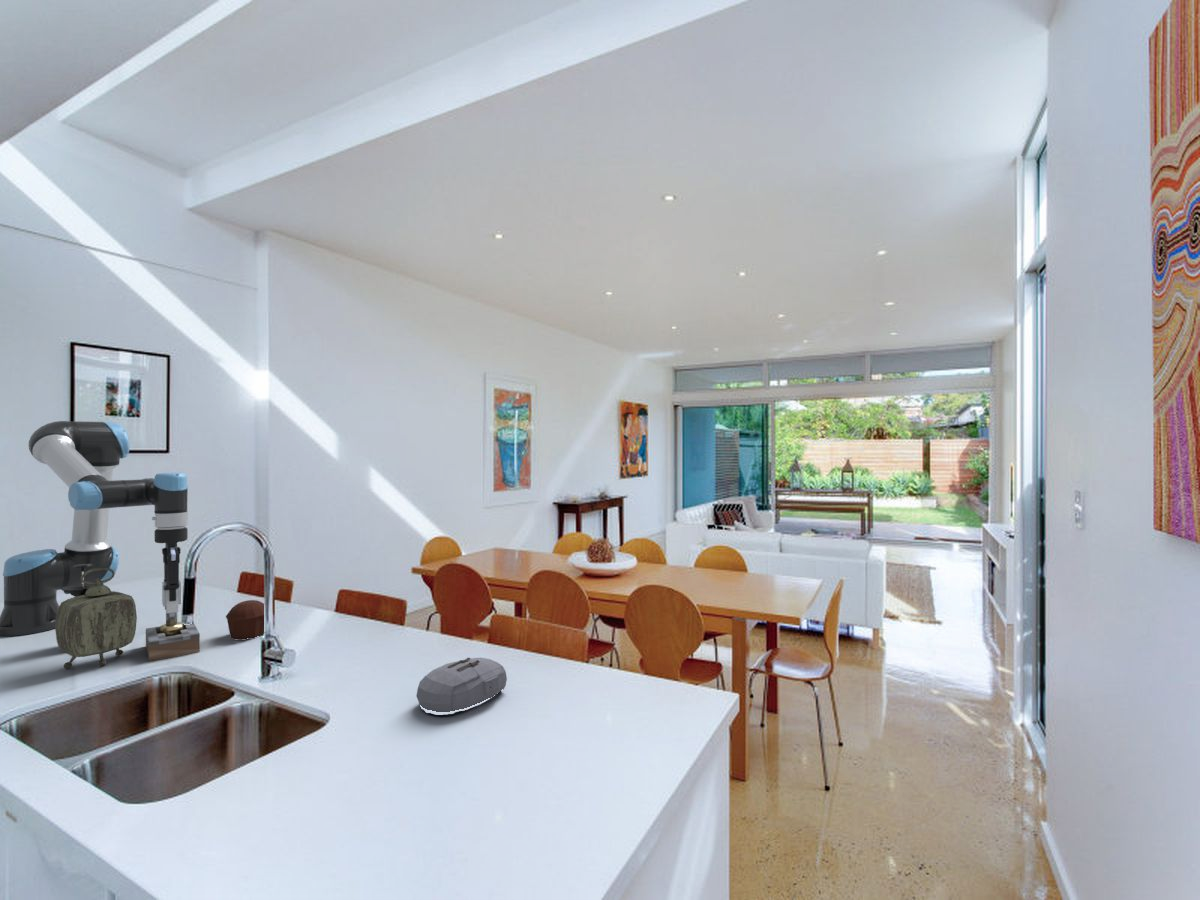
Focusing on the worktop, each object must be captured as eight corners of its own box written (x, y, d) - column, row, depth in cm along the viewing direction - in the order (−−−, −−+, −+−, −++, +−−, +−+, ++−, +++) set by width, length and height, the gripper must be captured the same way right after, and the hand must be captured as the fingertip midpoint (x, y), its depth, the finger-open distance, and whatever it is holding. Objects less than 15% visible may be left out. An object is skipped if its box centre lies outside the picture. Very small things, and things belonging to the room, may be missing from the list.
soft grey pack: (471, 678, 144) (401, 708, 128) (471, 644, 144) (401, 669, 128) (515, 694, 136) (446, 727, 119) (515, 658, 135) (446, 686, 119)
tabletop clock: (124, 652, 160) (124, 561, 160) (139, 659, 156) (139, 565, 155) (55, 670, 148) (55, 571, 148) (69, 677, 143) (69, 575, 143)
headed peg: (159, 631, 166) (159, 582, 166) (182, 628, 169) (181, 579, 169) (160, 636, 162) (160, 585, 162) (183, 632, 165) (183, 582, 165)
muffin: (254, 641, 170) (254, 607, 170) (216, 641, 170) (216, 607, 170) (277, 629, 181) (277, 596, 181) (242, 628, 182) (242, 596, 182)
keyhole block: (145, 646, 165) (145, 628, 165) (192, 638, 173) (192, 621, 172) (149, 661, 154) (149, 642, 154) (199, 651, 161) (199, 633, 161)
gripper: (152, 525, 169) (152, 606, 169) (156, 532, 156) (157, 619, 156) (184, 523, 174) (184, 602, 174) (190, 529, 161) (191, 614, 161)
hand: (171, 610), depth 165 cm, fingers closed on headed peg, 4 cm apart
